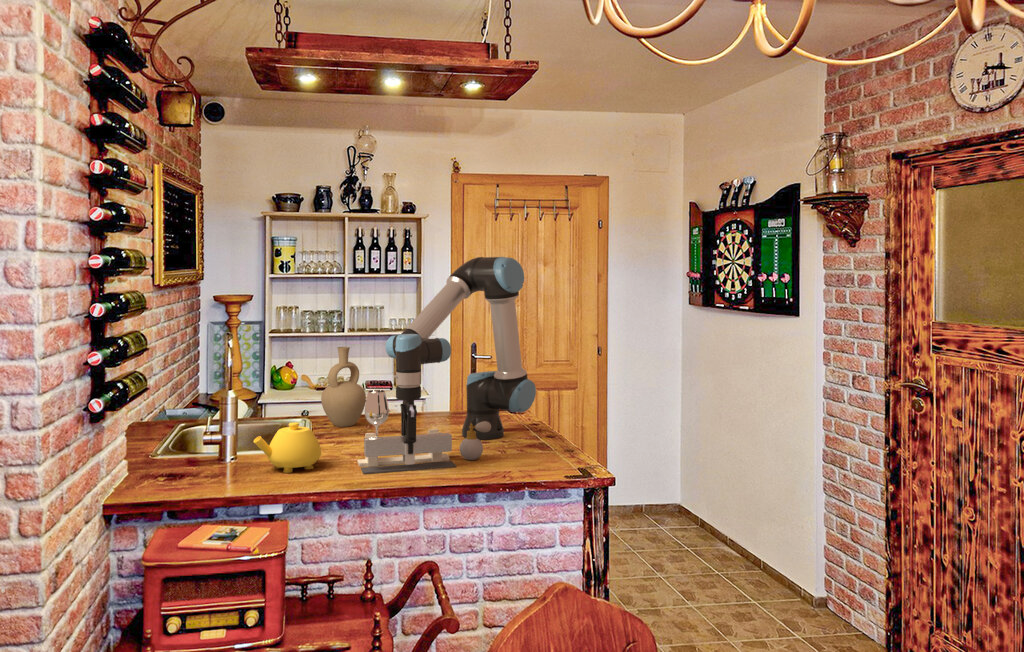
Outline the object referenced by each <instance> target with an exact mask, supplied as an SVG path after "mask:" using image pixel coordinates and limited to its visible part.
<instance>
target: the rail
mask: <svg viewBox="0 0 1024 652" xmlns="http://www.w3.org/2000/svg"><path fill="white" fill-rule="evenodd" d="M452 437H453V435H452V433H450V432H444V433H443V432H441V433H440V432H438V433H437V434H428V433H424V434H416V442H415V455H417V454H418V455H419V454H420V455H421V454H428V453H435V452H442V453H443V452H444V453H448V452H452V451H453V438H452ZM405 441H406V435H404V436H402V435H393V436H392V435H388V436H378V437H376V436H375V437H370V438H365V437H364V439H363V442H364V443H363V444H364V445H363V447H364V448H363V455H364V457H365V456H366V457H375V456H378V457H385V456H388V457H389V456H403V455H405V444H404V442H405Z"/></svg>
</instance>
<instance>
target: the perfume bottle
mask: <svg viewBox="0 0 1024 652" xmlns="http://www.w3.org/2000/svg"><path fill="white" fill-rule="evenodd" d="M472 425H473V424H472V423H471V424H470V426H469V429H470V430H469V431H467V437H466V438H465V437H464V439H463V440H462V441H461V442H460V445H459V453H460V456H461V457H462V458H463V459H465V460H467V461H476V460H478V459H480V457H481V456H482V454H483V452H484V445H483V443H482V440H480V439H478V438H477V437H476V431H473V428H475V429H476V430H477V431H480V432H488V431H490V429H491V424H490V423H489V422H486V421H483V422H480V423H478V424H476V425H475V426H472Z"/></svg>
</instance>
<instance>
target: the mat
mask: <svg viewBox="0 0 1024 652" xmlns="http://www.w3.org/2000/svg"><path fill="white" fill-rule="evenodd" d="M448 468H449V469H452V468H457V465H456V464H455V463H454V462H453V461H452V460H445V461H438V462H432V461H431V462H418V463H415V464H410V465H406V464H405V463H404V464H391V465H378V466H371V467H368V466H364V467H360V470H361V472H362V474H363V475H373V474H386V473H400V472H411V471H424V470H436V469H437V470H438V469H448Z"/></svg>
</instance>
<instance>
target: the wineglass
mask: <svg viewBox="0 0 1024 652" xmlns="http://www.w3.org/2000/svg"><path fill="white" fill-rule="evenodd" d="M389 411H390V410H389V403H388V398H387V394H386V391H385V390H383V389H372V390H371V389H370V390H368V391H367V395H366V403H365V407H364V417H365V420H366V421H367V422H368V423H369V424H371V425H372V426H374V427H375V437H376V436H378V437H379V428H380V427H379V426H381V425H383V424H384V423H385V422H386V421H387V419H388V417H389V416H390V415H389V413H390V412H389Z"/></svg>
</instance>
